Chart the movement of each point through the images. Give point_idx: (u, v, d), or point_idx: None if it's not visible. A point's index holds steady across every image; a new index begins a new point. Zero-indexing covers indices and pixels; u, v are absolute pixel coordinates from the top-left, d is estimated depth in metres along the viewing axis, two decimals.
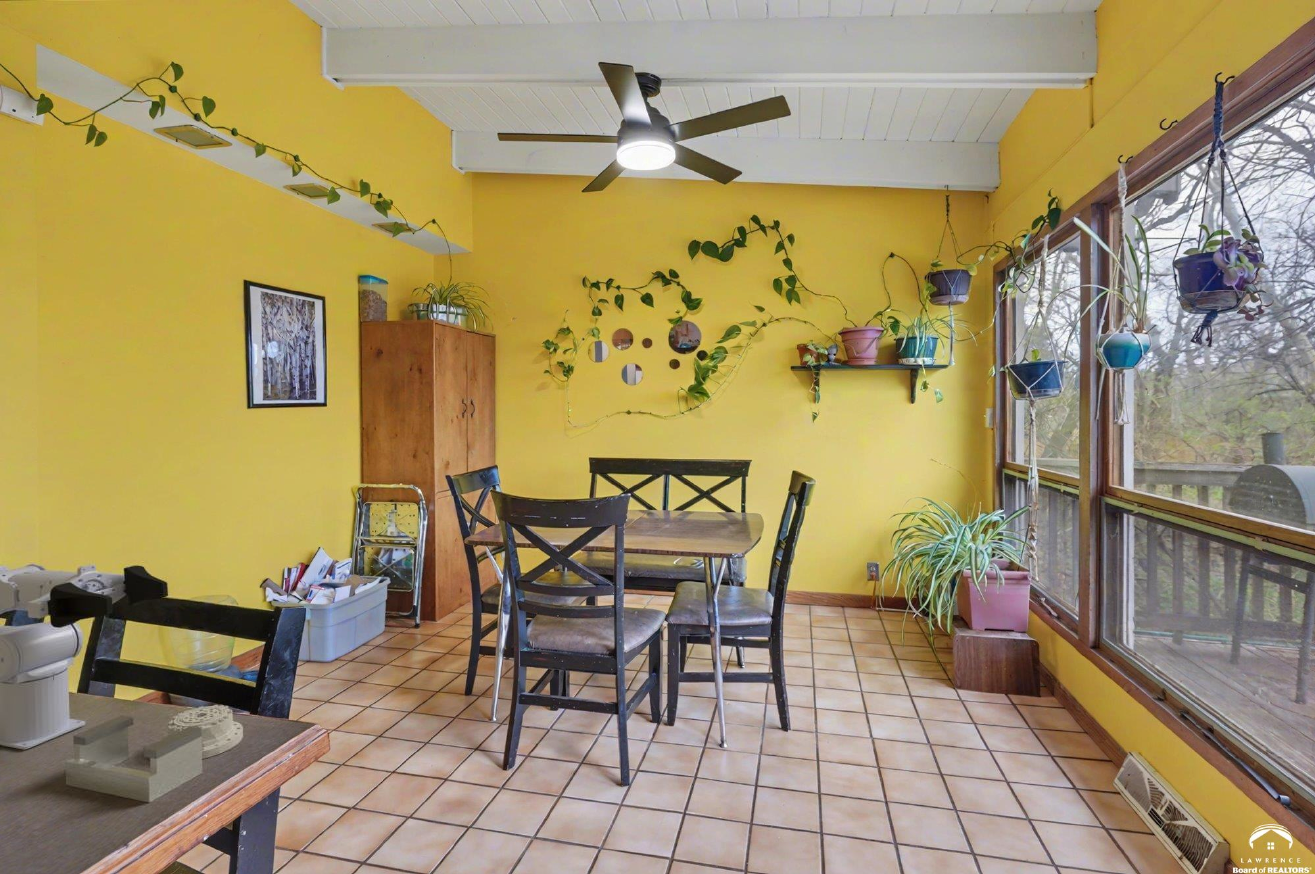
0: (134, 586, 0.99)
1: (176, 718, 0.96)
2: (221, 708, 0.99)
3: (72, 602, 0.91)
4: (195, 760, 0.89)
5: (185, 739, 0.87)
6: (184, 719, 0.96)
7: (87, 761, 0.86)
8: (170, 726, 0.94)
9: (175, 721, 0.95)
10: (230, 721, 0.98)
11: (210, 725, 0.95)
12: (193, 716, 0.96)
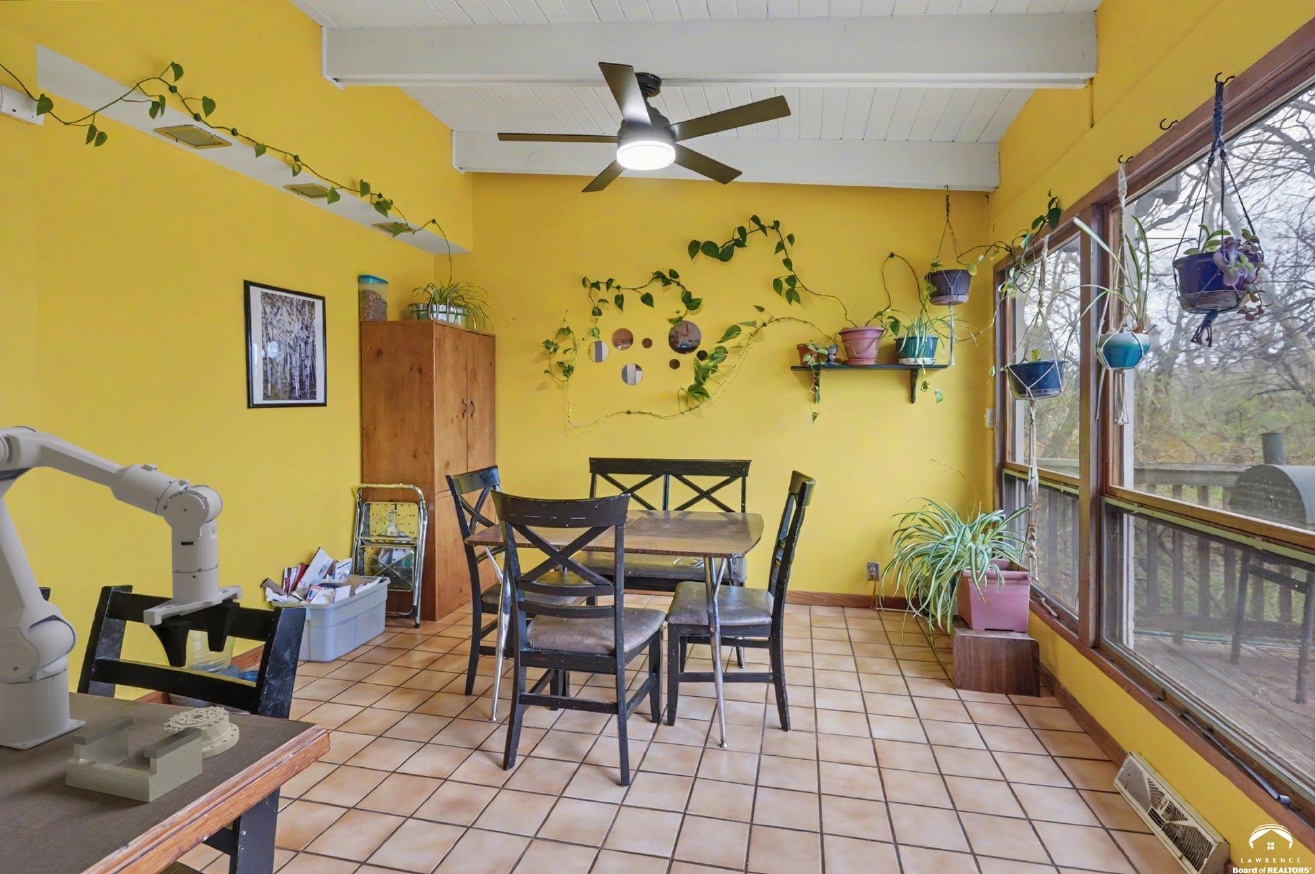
0: (216, 617, 1.07)
1: (172, 720, 0.95)
2: (217, 709, 0.99)
3: None
4: (195, 760, 0.89)
5: (185, 739, 0.87)
6: (180, 721, 0.95)
7: (87, 761, 0.86)
8: (166, 728, 0.94)
9: (171, 723, 0.95)
10: (226, 722, 0.97)
11: (206, 727, 0.94)
12: (189, 718, 0.96)
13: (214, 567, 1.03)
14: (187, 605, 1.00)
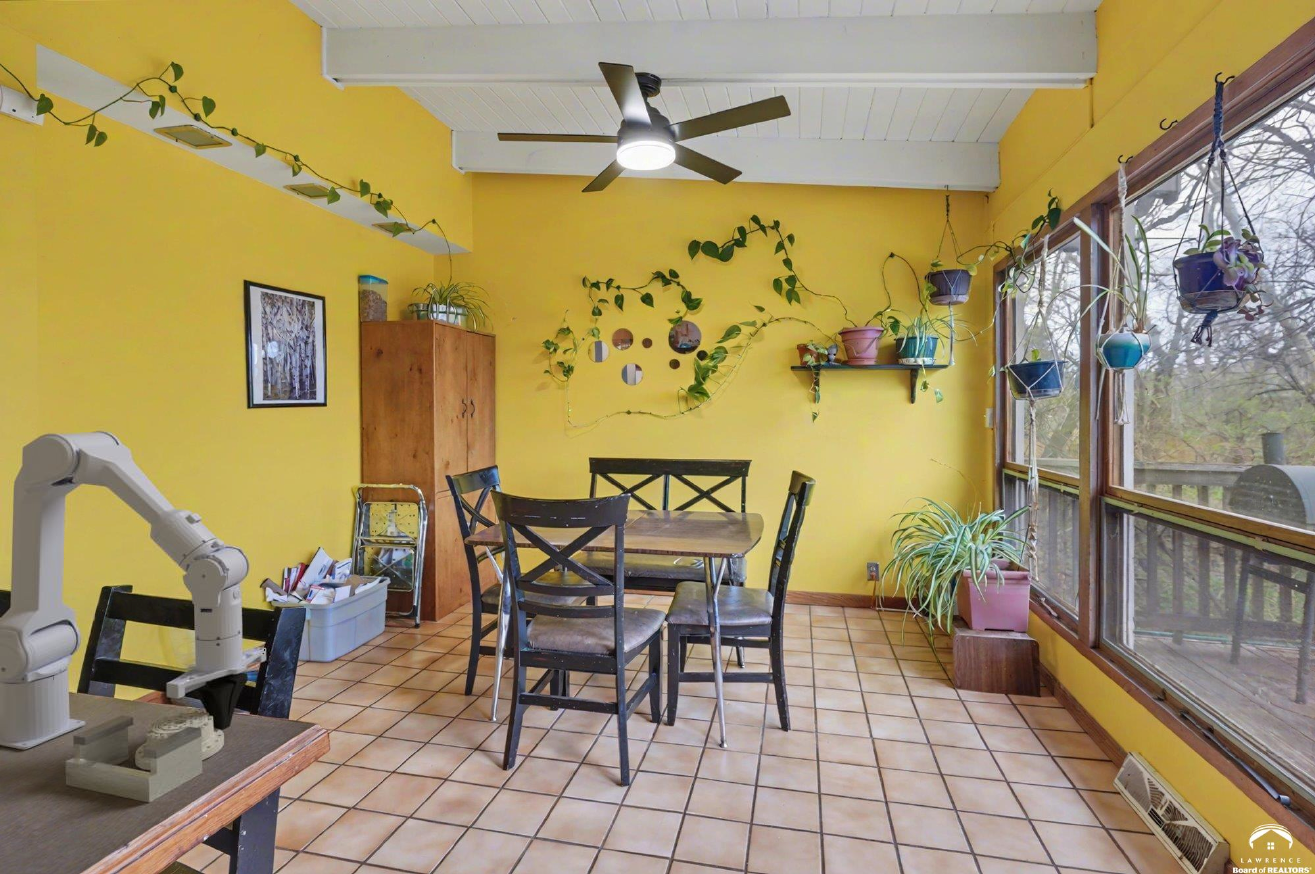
0: None
1: (155, 725, 0.94)
2: (201, 715, 0.97)
3: None
4: (195, 760, 0.89)
5: (185, 739, 0.87)
6: (163, 726, 0.93)
7: (87, 761, 0.86)
8: (148, 733, 0.92)
9: (153, 728, 0.93)
10: (210, 728, 0.95)
11: None
12: (172, 723, 0.94)
13: (238, 633, 0.99)
14: (211, 675, 0.96)
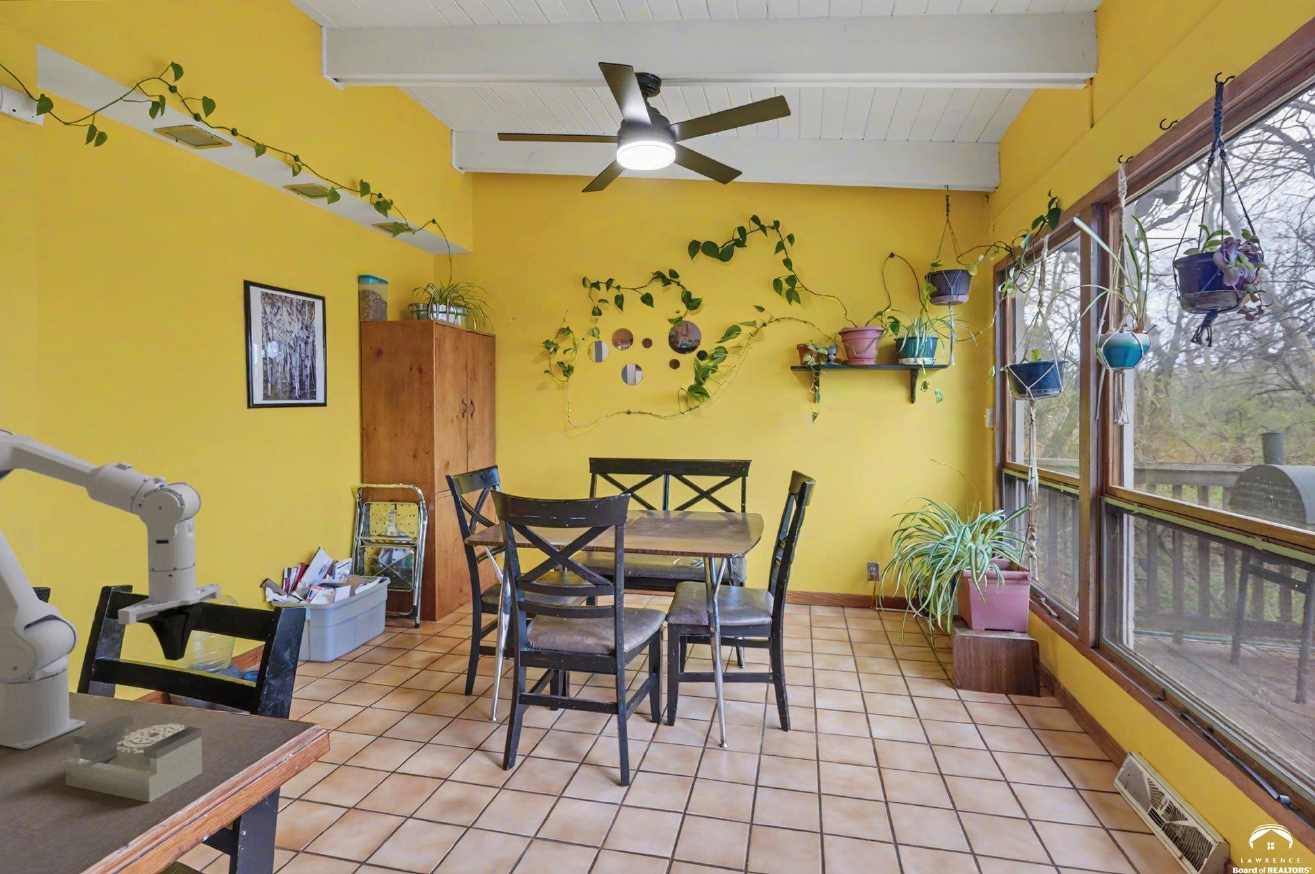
0: None
1: (126, 738, 0.90)
2: (176, 727, 0.93)
3: None
4: (195, 760, 0.89)
5: (185, 739, 0.87)
6: (134, 739, 0.90)
7: (87, 761, 0.86)
8: (118, 747, 0.89)
9: (124, 741, 0.89)
10: None
11: None
12: (144, 736, 0.91)
13: (191, 566, 1.02)
14: (163, 604, 0.98)
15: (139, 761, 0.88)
